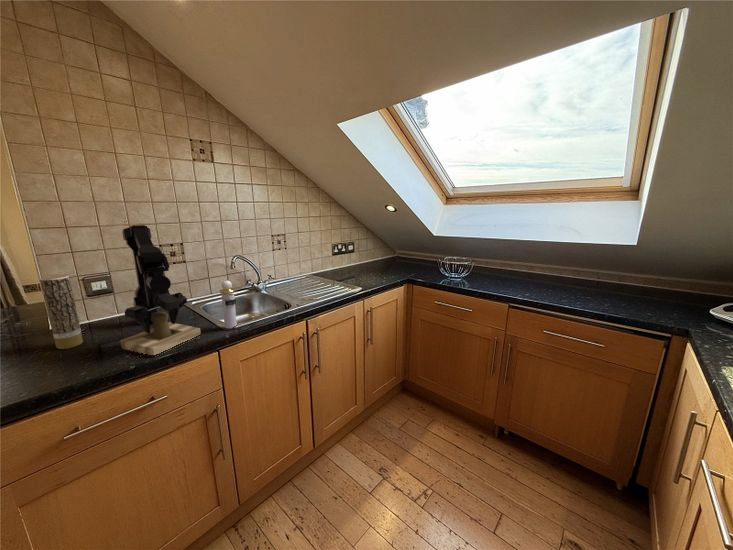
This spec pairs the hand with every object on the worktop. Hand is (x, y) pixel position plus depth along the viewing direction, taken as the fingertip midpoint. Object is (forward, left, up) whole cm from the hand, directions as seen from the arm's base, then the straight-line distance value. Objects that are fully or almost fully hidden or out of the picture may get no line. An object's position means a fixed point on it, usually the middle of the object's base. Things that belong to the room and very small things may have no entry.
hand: (161, 328), depth 107 cm
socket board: (0, 0, -5) cm, 5 cm away
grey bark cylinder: (-27, -14, -6) cm, 31 cm away
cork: (0, 0, -6) cm, 6 cm away
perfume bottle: (+13, +19, -6) cm, 24 cm away
